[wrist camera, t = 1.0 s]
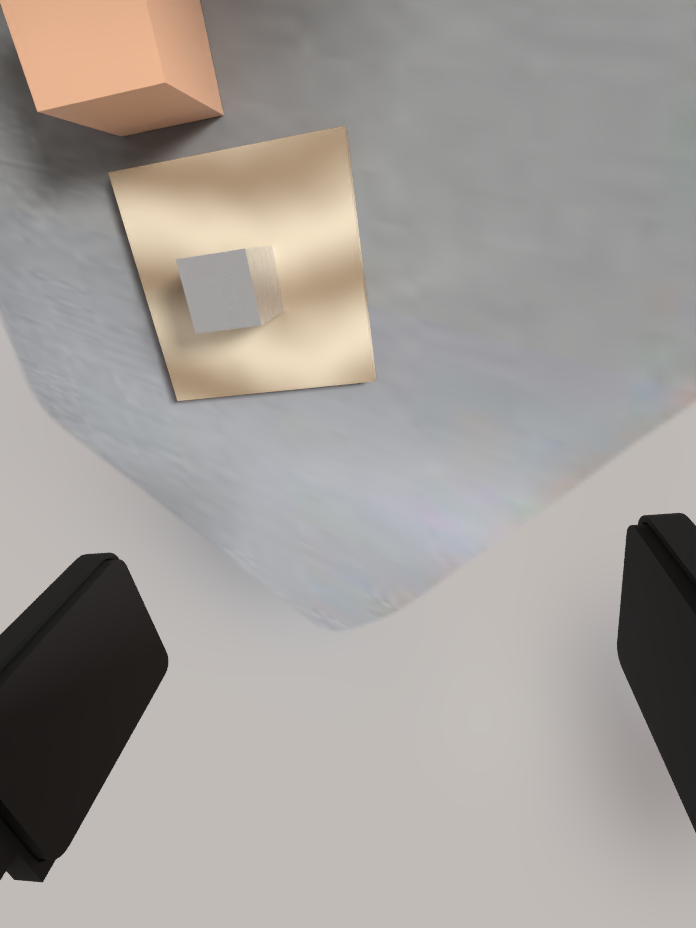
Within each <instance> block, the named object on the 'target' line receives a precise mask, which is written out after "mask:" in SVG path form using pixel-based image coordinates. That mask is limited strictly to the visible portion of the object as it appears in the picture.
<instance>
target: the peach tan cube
mask: <svg viewBox="0 0 696 928" xmlns="http://www.w3.org/2000/svg"><path fill="white" fill-rule="evenodd" d="M0 4H1V6H2V9H3V12H4V15H5V18H6V21H7V24H8V27H9V30H10V33H11V36H12V39H13V42H14V45H15V47H16V50H17V53H18V56H19V59H20V62H21V65H22V68H23V71H24V74H25V77H26V80H27V83H28V86H29V88H30V91H31V94H32V97H33V100H34V103H35V106H36V109H37V112H40V113H43V114H47V115H50V116H53V117H57V118H60V119H63V120H67V121H70V122H74V123H77V124H80V125H84V126H87V127H90V128H94V129H97V130H100V131H104V132H107V133H111V134H114V135H117V136H121V137H122V136H127V135H132V134H137V133H141V132H146V131H151V130H156V129H160V128H165V127H170V126H175V125H179V124H184V123H189V122H193V121H198V120H203V119H208V118H212V117H217V116H222V115H224V114H223V110H222V105H221V100H220V95H219V90H218V85H217V81H216V76H215V71H214V66H213V61H212V56H211V51H210V47H209V42H208V37H207V32H206V27H205V22H204V18H203V13H202V8H201V3H200V0H0Z"/></svg>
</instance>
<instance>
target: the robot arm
mask: <svg viewBox="0 0 696 928" xmlns="http://www.w3.org/2000/svg"><path fill="white" fill-rule="evenodd" d="M617 651H618V657H619V661H620V664H621V666H622V669H623V671H624V674H625V676H626V678H627V680H628V682H629V685H630V687H631V689H632V691H633V694H634V696H635V698H636V700H637V703H638V705H639V707H640V709H641V712H642V713H643V716H644V718H645V720H646V723H647V725H648V727H649V729H650V731H651V734H652V736H653V738H654V741H655V743H656V745H657V747H658V749H659V752H660V754H661V756H662V758H663V760H664V762H665V765H666V767H667V769H668V772H669V774H670V776H671V778H672V781H673V783H674V785H675V787H676V790H677V792H678V794H679V796H680V799H681V800H682V803H683V805H684V807H685V810H686V812H687V814H688V816H689V818H690V821H691V823H692V825H693V828H694V830H695V832H696V526H695V525H694V523H693V522H692V521H691V520H690V519H689V518H688V517H687V516H686V515H685V514H682V513H672V514H658V515H644V516H642V517H641V518H640V519H639V522H638V525H631V526H629V527H628V529H627V535H626V547H625V559H624V570H623V581H622V593H621V605H620V616H619V627H618V639H617ZM167 667H168V655H167V653H166V650H165V648H164V646H163V644H162V641H161V639H160V637H159V635H158V633H157V631H156V628H155V626H154V624H153V622H152V620H151V618H150V615H149V613H148V611H147V609H146V607H145V605H144V602H143V600H142V598H141V596H140V594H139V592H138V590H137V587H136V585H135V583H134V581H133V579H132V576H131V574H130V572H129V570H128V568H127V566H126V564H125V563H124V562H123V561H122V560H119V558H118V557H117V556H116V555H115V554H113V553H98V554H85V555H82V556H80V557H79V558H78V559H76V560H75V561H74V562H73V563H72V564H71V565H70V566H69V567H68V568H67V569H66V570H65V571H64V572H63V573H62V574H61V575H60V576H59V577H58V578H57V579H56V580H55V581H54V582H53V583H52V584H51V585H50V586H49V587H48V588H47V589H46V590H45V591H44V592H43V593H42V594H41V595H40V596H39V597H38V598H37V599H36V600H35V601H34V602H33V603H32V604H31V605H30V606H29V607H28V608H27V609H26V610H25V611H24V612H23V613H22V614H21V615H20V616H19V617H18V618H17V619H16V620H15V621H14V622H13V623H12V624H11V625H10V626H9V627H8V628H7V629H6V630H5V631H4V632H3V633H2V634H1V635H0V880H1V878H2V877H3V875H4V873H5V872H6V871H7V872H8V873H9V874H10V876H11V877H12V878H13V879H14V880H23V881H34V882H43V881H44V879H45V877H46V875H47V874H48V872H49V870H50V868H51V867H52V865H53V863H54V861H55V860H56V859H57V858H59V857H60V856H61V855H62V854H63V853H64V852H65V851H66V850H67V848H68V847H69V845H70V843H71V841H72V840H73V838H74V836H75V834H76V833H77V831H78V829H79V827H80V825H81V823H82V822H83V820H84V818H85V817H86V815H87V813H88V811H89V809H90V808H91V806H92V804H93V802H94V800H95V799H96V796H97V795H98V793H99V792H100V789H101V788H102V786H103V784H104V783H105V781H106V779H107V777H108V775H109V774H110V772H111V770H112V768H113V767H114V765H115V763H116V761H117V759H118V758H119V756H120V754H121V752H122V750H123V748H124V747H125V745H126V743H127V742H128V740H129V738H130V736H131V734H132V733H133V731H134V729H135V727H136V725H137V723H138V722H139V720H140V718H141V716H142V715H143V713H144V711H145V709H146V707H147V706H148V704H149V702H150V700H151V698H152V697H153V695H154V693H155V692H156V690H157V688H158V686H159V684H160V682H161V681H162V679H163V677H164V675H165V673H166V671H167Z"/></svg>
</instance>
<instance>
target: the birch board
mask: <svg viewBox="0 0 696 928" xmlns="http://www.w3.org/2000/svg"><path fill="white" fill-rule="evenodd" d="M108 174H109V177H110V180H111V184H112V187H113V190H114V193H115V197H116V200H117V203H118V207H119V210H120V213H121V216H122V220H123V223H124V226H125V230H126V233H127V236H128V240H129V243H130V246H131V249H132V253H133V256H134V259H135V263H136V266H137V269H138V272H139V276H140V279H141V282H142V286H143V289H144V292H145V296H146V299H147V302H148V305H149V309H150V312H151V315H152V319H153V322H154V325H155V329H156V332H157V335H158V338H159V342H160V345H161V348H162V352H163V355H164V358H165V361H166V365H167V368H168V371H169V375H170V378H171V381H172V385H173V388H174V391H175V394H176V398H177V401H184V400H194V399H204V398H214V397H224V396H234V395H244V394H254V393H264V392H274V391H284V390H294V389H304V388H314V387H324V386H334V385H344V384H354V383H364V382H374V381H375V378H376V372H375V364H374V356H373V347H372V339H371V330H370V322H369V313H368V305H367V296H366V288H365V279H364V271H363V262H362V254H361V245H360V237H359V229H358V220H357V212H356V203H355V195H354V186H353V178H352V169H351V161H350V152H349V144H348V135H347V129H346V128H345V127H344V126H341V127H336V128H331V129H326V130H321V131H316V132H311V133H306V134H301V135H296V136H291V137H285V138H280V139H275V140H270V141H265V142H260V143H255V144H250V145H245V146H240V147H235V148H230V149H225V150H220V151H215V152H209V153H204V154H199V155H194V156H189V157H184V158H179V159H174V160H169V161H164V162H159V163H154V164H149V165H144V166H139V167H133V168H128V169H123V170H118V171H113V172H108ZM267 245H272V248H273V253H274V258H275V264H276V269H277V274H278V279H279V285H280V290H281V295H282V301H283V306H284V311H283V312H282V313H280V314H279V315H277V316H275V317H274V318H272V319H271V320H269V321H268V322H266V323H264V324H263V325H261V326H253V327H246V328H238V329H230V330H222V331H214V332H206V333H198V334H196V333H195V330H194V326H193V322H192V319H191V315H190V311H189V308H188V304H187V300H186V296H185V293H184V289H183V285H182V282H181V278H180V274H179V271H178V267H177V263H176V259H181V258H188V257H194V256H201V255H207V254H213V253H220V252H226V251H232V250H239V249H245V248H253V247H260V246H267Z"/></svg>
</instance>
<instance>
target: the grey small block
mask: <svg viewBox="0 0 696 928" xmlns="http://www.w3.org/2000/svg"><path fill="white" fill-rule="evenodd" d="M176 263H177V267H178V271H179V274H180V278H181V282H182V285H183V289H184V293H185V296H186V300H187V304H188V308H189V311H190V315H191V319H192V322H193V326H194V330H195V333H196V334H198V333H206V332H214V331H222V330H230V329H238V328H246V327H253V326H261V325H263V324H264V323H266V322H268V321H269V320H271V319H272V318H274V317H275V316H277V315H279V314H280V313H282V312H283V311H284V306H283V301H282V295H281V290H280V285H279V279H278V274H277V269H276V264H275V258H274V253H273V248H272V245H267V246H260V247H253V248H245V249H239V250H232V251H226V252H220V253H213V254H207V255H201V256H194V257H188V258H181V259H176Z"/></svg>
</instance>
